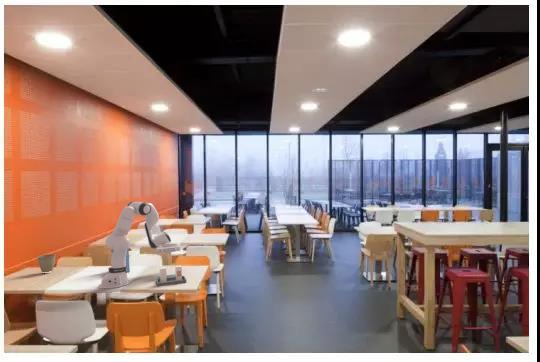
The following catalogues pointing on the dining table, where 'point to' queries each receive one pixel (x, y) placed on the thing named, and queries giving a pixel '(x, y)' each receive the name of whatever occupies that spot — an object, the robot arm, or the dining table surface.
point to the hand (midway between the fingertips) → (169, 250)
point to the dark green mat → (168, 276)
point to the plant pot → (46, 262)
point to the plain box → (163, 275)
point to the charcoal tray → (171, 281)
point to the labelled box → (178, 272)
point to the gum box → (126, 259)
